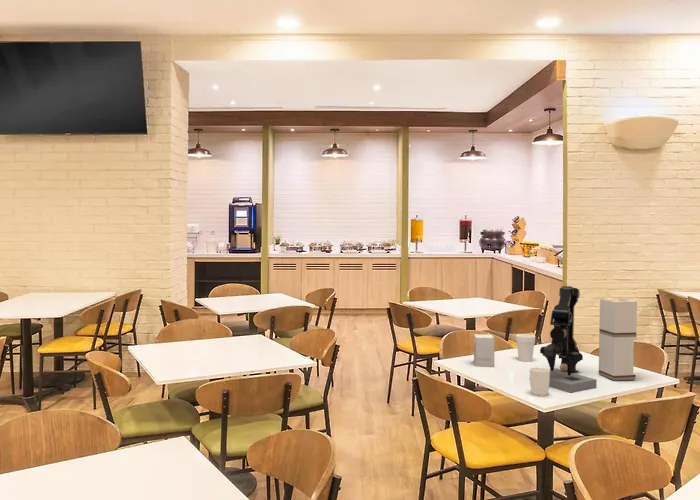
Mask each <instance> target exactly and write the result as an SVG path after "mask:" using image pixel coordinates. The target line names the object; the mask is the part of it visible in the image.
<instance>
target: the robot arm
mask: <svg viewBox="0 0 700 500" xmlns="http://www.w3.org/2000/svg"><path fill="white" fill-rule="evenodd" d="M558 292H559V293H558V294H559V301H558V304H557V305H556V304H555V306H554V308H553V310H552V311H551V316H550V322H549V323H550V326H553V328H552V329H551V330H550V332H549V334H550V338H551V339H552V340H551V343H549V344H547V345H546V346H545V345H544V346H541V348H540V349H539V353H540V354H541V356H543V357H545V359H546V360H547V363H548V366H549V369H551V371H553V370H554V369H555V366H556V365H555V364H556V358H557V356H558V360H559V359H561V361H560V365H561V364H566V365H567V366H568V370H567V372H568V376H570V375H571V373H574V374H577V373H579V370H577V368H576V367H577V364H578V363H579V362H581V361H583V360H584V359H583V357H584V356H583V354H582V353H581V352H580V350H579V347H578V343H577V341H576V340H575V338H574V333H575V331H574V330H575V329H574V327H575V326H574V324H575V306H576V305H577V303H578V302H579V298H580V295H581V293H580V289H578V288H577V287H574V286H571V285H570V286H566V285H564V286H561V287H559V291H558Z"/></svg>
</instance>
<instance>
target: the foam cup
mask: <svg viewBox="0 0 700 500" xmlns="http://www.w3.org/2000/svg"><path fill="white" fill-rule="evenodd" d="M515 337H516V338H515V340H516V346H517V347H516V349H517V354H518V355H517V356H518V360H519V361H520V362H524V363H531V362H532V361H533V356H534V350H535V343H536V335H534V334H529V333H518V334H516V335H515Z"/></svg>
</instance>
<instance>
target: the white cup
mask: <svg viewBox="0 0 700 500" xmlns="http://www.w3.org/2000/svg"><path fill="white" fill-rule="evenodd" d="M549 369H550V368H547V367H541V366H540V367H539V366H537V367H536V366H534V367H530V368H529V384H530V394H531V395H534V396H538V397H542V396H543V397H545V396H548V395H549V389H550V386H549V381H550V370H549Z"/></svg>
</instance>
